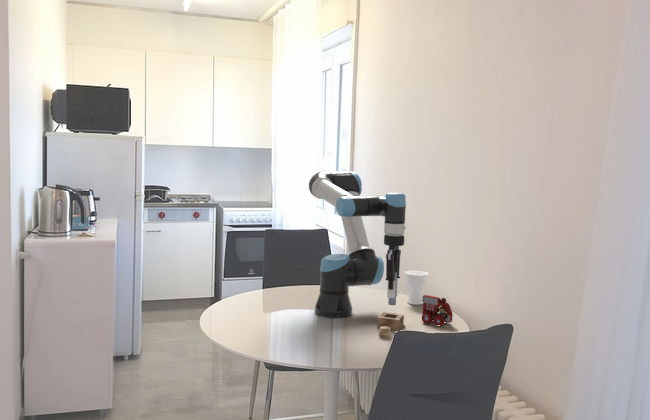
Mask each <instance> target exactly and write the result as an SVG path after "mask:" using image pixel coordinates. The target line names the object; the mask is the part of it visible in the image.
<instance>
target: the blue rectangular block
mask: <svg viewBox="0 0 650 420" xmlns="http://www.w3.org/2000/svg"><path fill="white" fill-rule="evenodd" d="M397 279H398V278H397V273H396V272H395V298H387V299H388V304H387V305H388V306H389V305H390V306H396V305H397V296H396V286H397V287H398V283H397Z"/></svg>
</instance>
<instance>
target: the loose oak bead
mask: <svg viewBox="0 0 650 420" xmlns="http://www.w3.org/2000/svg"><path fill="white" fill-rule="evenodd" d="M378 329H379V333H378V334H379V335H378V336H379V338H383V339H388V338H389V339H390V338H391V332H392V330H391V328H390V327H387V326H382V327H380V328H378Z"/></svg>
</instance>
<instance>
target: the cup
mask: <svg viewBox="0 0 650 420" xmlns="http://www.w3.org/2000/svg"><path fill="white" fill-rule="evenodd" d="M403 273H404V277H405V281H406V284H407V304H410V305H414V306H415V305H417V306H419V305H423V302H422V297H423V295H424V294H423V292H424V287H425V284H426V281H427V279H428V276H429V273H428V272H427V271H423V270H415V269H414V270H413V269H412V270H405V271H403Z"/></svg>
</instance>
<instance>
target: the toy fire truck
mask: <svg viewBox="0 0 650 420" xmlns="http://www.w3.org/2000/svg"><path fill="white" fill-rule="evenodd" d="M453 315H454V314H453V311H452V308H451V306H450V304H449V303H448V302H447V299H446V298H445V297H442V298H440V297H438V296H432V295H427V294H425V295H424V294H423V295H422V315H421V321H422V323H424V324H425V323H429V324H431V323H432V322H433V323H434V325H435V326H436V325H440V327H442V326H443V325H445V323H444V322H447V323H446V324H450V323H452V322H453ZM432 320H434V321H432Z"/></svg>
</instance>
